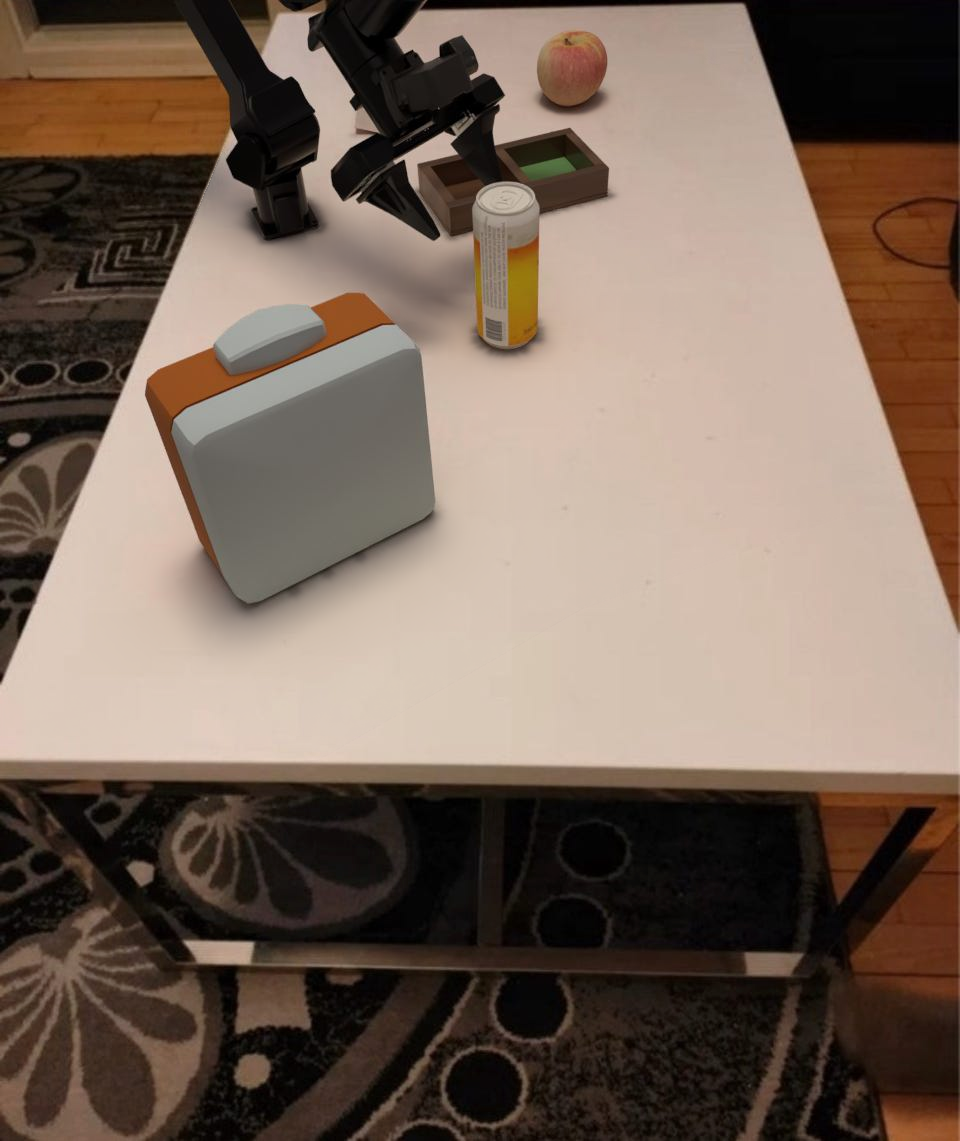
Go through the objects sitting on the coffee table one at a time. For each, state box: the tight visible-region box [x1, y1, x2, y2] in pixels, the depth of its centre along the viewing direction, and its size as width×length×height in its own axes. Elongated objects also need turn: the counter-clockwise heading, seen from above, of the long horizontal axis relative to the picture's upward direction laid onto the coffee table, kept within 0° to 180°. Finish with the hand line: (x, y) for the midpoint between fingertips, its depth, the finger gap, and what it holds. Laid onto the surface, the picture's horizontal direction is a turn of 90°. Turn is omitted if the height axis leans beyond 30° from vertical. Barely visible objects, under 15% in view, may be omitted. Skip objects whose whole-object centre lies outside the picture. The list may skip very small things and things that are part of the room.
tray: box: [416, 127, 610, 236], centre depth 117 cm, size 10×20×4 cm, turn 112°
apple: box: [536, 29, 608, 107], centre depth 130 cm, size 9×9×8 cm
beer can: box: [472, 182, 540, 350], centre depth 96 cm, size 6×6×15 cm
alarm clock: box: [144, 292, 436, 604], centre depth 78 cm, size 18×9×21 cm, turn 124°
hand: (470, 217), depth 95 cm, fingers open, 9 cm apart
